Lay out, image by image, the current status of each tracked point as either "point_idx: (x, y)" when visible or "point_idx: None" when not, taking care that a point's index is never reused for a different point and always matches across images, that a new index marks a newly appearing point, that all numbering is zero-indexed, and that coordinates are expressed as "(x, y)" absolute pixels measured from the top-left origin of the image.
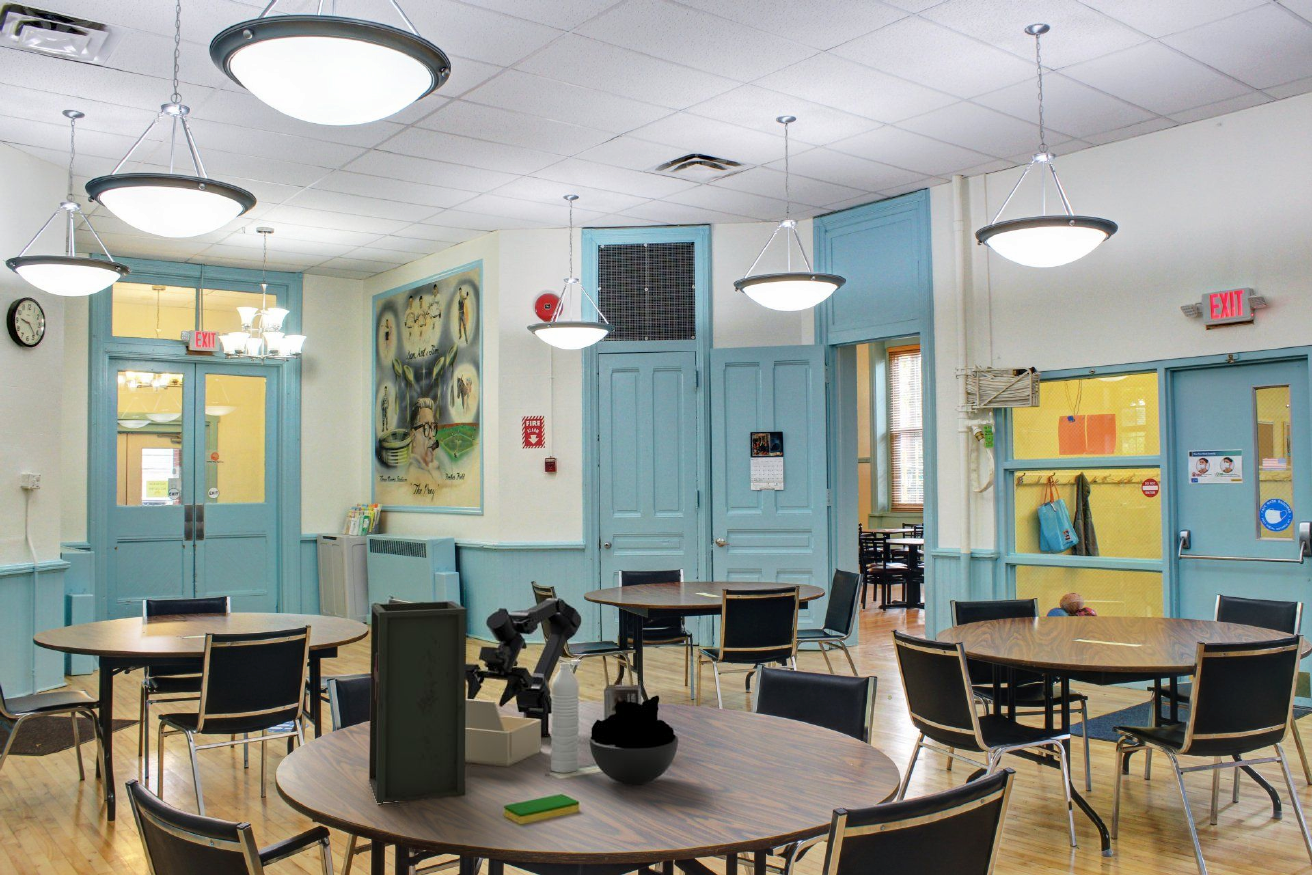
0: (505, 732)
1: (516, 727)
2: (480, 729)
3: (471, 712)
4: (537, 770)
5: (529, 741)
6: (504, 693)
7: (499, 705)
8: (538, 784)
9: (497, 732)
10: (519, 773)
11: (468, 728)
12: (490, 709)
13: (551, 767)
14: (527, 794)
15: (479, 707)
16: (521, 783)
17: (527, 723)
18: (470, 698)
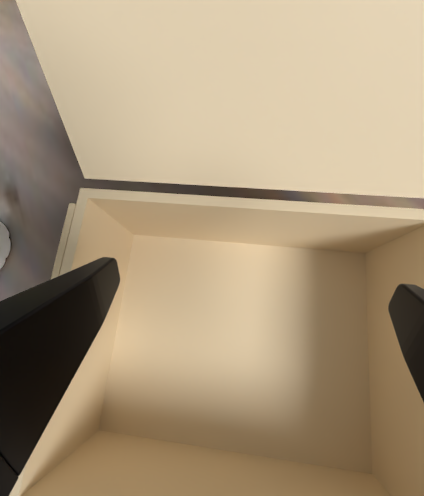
0: (91, 190)
1: (164, 488)
2: (214, 206)
3: (216, 72)
4: (45, 221)
5: None
6: (30, 297)
7: (115, 263)
8: (15, 124)
9: (127, 192)
10: (80, 184)
11: (274, 206)
12: (71, 26)
13: (3, 228)
14: (20, 64)
15: (141, 14)
16: (52, 119)
17: (93, 493)
18: (414, 313)
